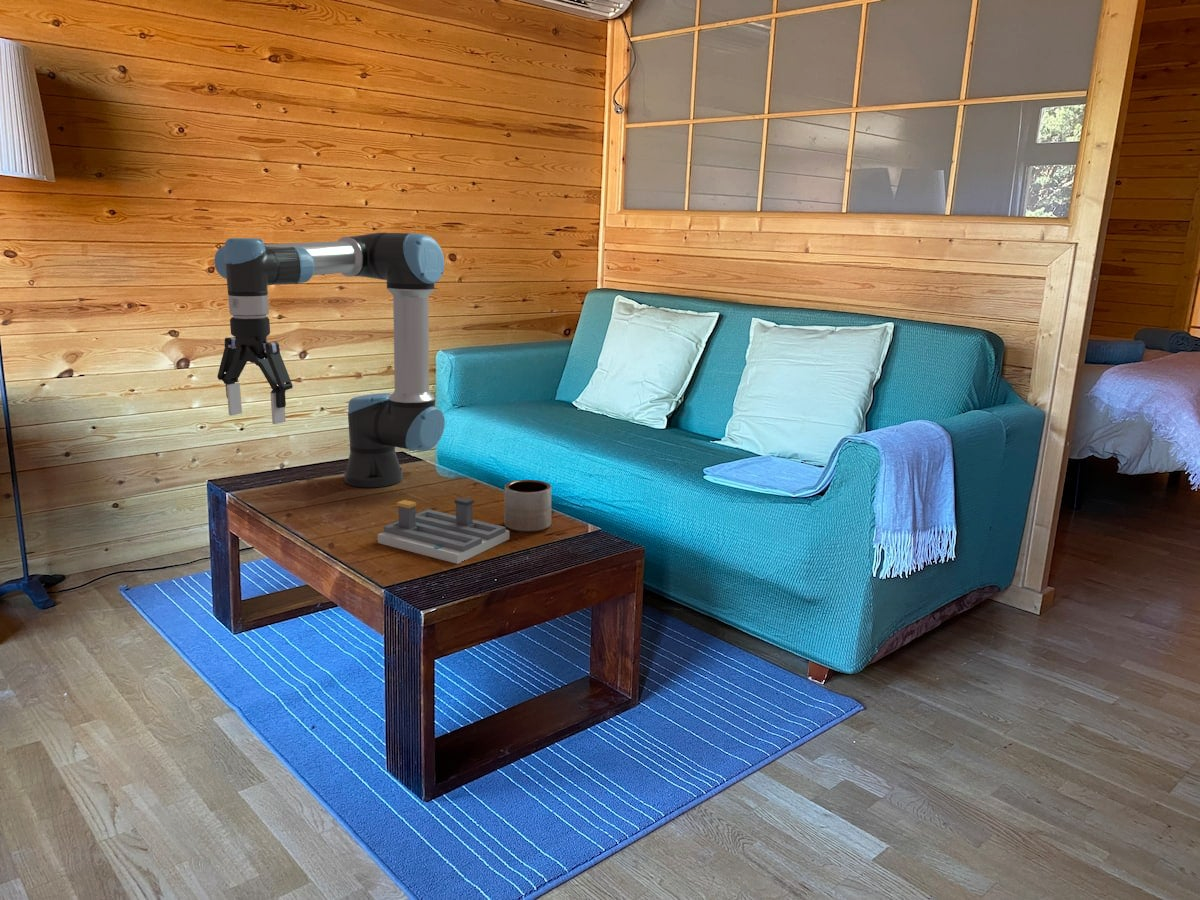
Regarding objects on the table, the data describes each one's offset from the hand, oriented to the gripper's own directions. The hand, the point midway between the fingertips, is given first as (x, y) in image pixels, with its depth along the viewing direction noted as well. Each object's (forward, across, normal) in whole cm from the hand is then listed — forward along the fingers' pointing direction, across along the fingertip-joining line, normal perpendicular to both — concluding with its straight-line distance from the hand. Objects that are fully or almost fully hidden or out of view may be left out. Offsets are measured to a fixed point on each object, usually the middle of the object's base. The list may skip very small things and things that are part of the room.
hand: (256, 418), depth 189 cm
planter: (+28, +40, +41) cm, 64 cm away
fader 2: (+25, +33, +27) cm, 49 cm away
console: (+27, +31, +22) cm, 47 cm away
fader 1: (+25, +24, +18) cm, 39 cm away
